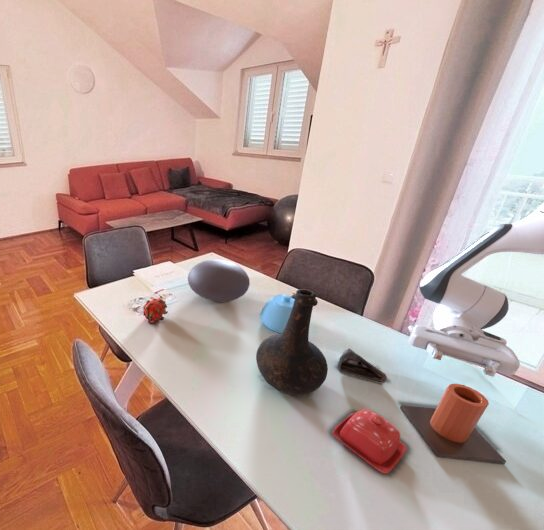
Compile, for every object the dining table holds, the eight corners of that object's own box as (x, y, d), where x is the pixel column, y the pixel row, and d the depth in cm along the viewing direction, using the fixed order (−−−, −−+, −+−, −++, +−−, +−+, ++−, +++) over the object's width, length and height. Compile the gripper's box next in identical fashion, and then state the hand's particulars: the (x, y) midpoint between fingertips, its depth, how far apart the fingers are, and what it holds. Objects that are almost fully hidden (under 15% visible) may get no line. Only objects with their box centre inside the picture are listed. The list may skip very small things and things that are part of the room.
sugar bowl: (252, 325, 112) (257, 297, 108) (268, 308, 123) (273, 282, 118) (296, 342, 103) (303, 312, 99) (309, 322, 114) (316, 294, 109)
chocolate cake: (382, 370, 92) (356, 335, 94) (390, 380, 86) (361, 343, 87) (350, 383, 96) (326, 349, 98) (355, 394, 89) (329, 358, 91)
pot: (456, 421, 74) (475, 386, 70) (473, 445, 69) (496, 409, 64) (424, 415, 76) (441, 381, 72) (439, 438, 70) (459, 403, 66)
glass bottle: (285, 414, 77) (309, 320, 66) (240, 367, 93) (253, 283, 81) (337, 394, 84) (367, 303, 72) (286, 352, 99) (305, 272, 87)
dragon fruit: (163, 313, 122) (150, 334, 113) (146, 299, 122) (132, 318, 113) (175, 302, 117) (162, 323, 108) (157, 288, 117) (144, 307, 108)
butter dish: (408, 451, 69) (421, 423, 65) (384, 480, 63) (397, 452, 60) (353, 414, 78) (362, 388, 74) (327, 437, 72) (336, 410, 68)
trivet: (456, 413, 78) (458, 410, 77) (504, 464, 66) (506, 461, 66) (399, 407, 79) (401, 404, 79) (436, 456, 68) (438, 453, 67)
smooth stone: (238, 318, 117) (243, 282, 111) (177, 300, 128) (178, 267, 122) (253, 290, 136) (258, 259, 130) (199, 277, 148) (201, 248, 142)
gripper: (412, 315, 91) (413, 338, 81) (514, 341, 79) (530, 372, 69) (405, 333, 93) (405, 357, 83) (503, 361, 82) (517, 393, 72)
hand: (463, 364), depth 76 cm, fingers open, 8 cm apart
